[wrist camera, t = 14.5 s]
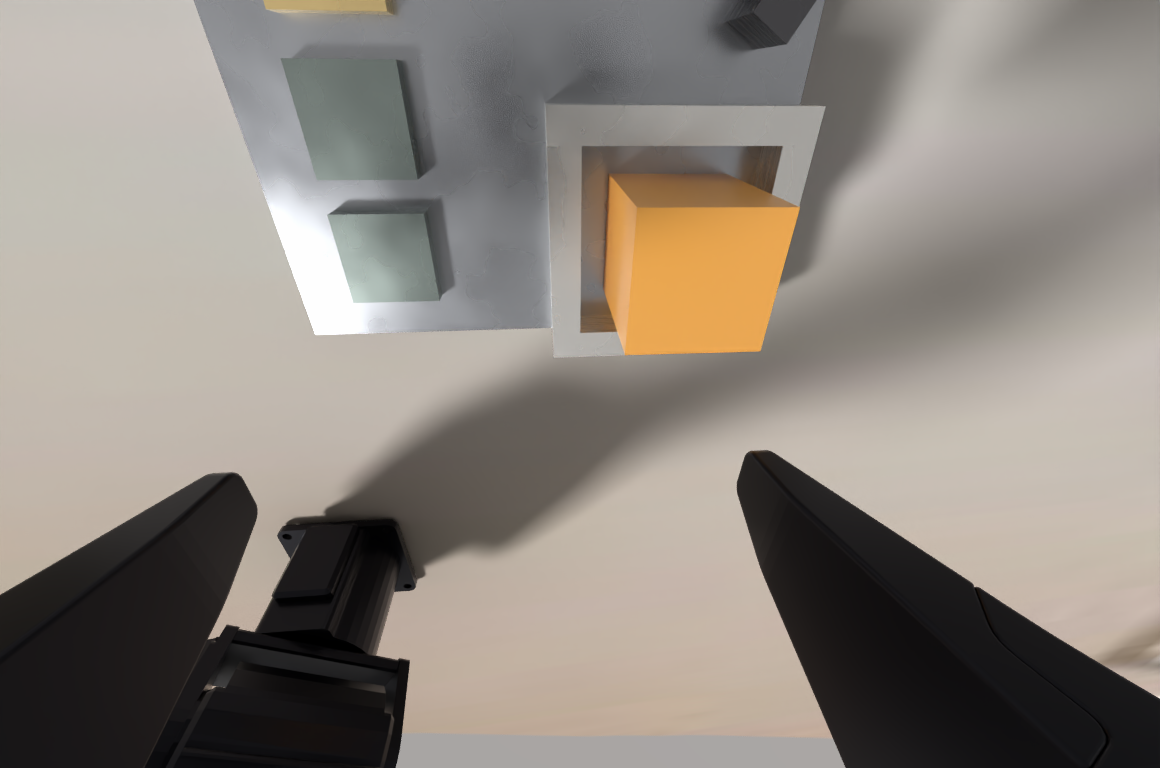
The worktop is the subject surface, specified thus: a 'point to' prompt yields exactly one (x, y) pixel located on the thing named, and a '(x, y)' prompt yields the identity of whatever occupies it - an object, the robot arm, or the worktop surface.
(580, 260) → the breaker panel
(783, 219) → the orange cube
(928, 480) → the worktop surface
